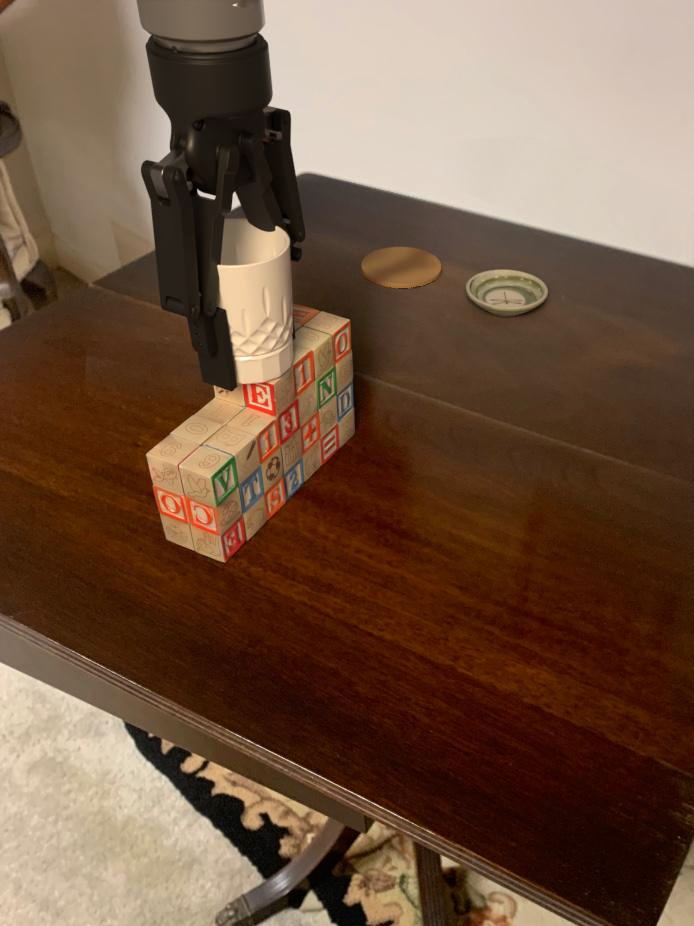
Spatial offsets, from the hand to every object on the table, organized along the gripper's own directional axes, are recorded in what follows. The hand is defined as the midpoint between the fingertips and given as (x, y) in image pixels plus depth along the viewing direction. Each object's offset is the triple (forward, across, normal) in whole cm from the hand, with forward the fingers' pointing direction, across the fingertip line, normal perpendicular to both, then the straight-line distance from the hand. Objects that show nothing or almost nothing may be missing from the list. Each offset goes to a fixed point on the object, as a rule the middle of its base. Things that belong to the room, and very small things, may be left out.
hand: (250, 359), depth 71 cm
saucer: (+13, +41, -6) cm, 43 cm away
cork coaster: (+13, +43, +9) cm, 46 cm away
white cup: (0, 0, 0) cm, 0 cm away
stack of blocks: (+13, 0, 0) cm, 13 cm away
